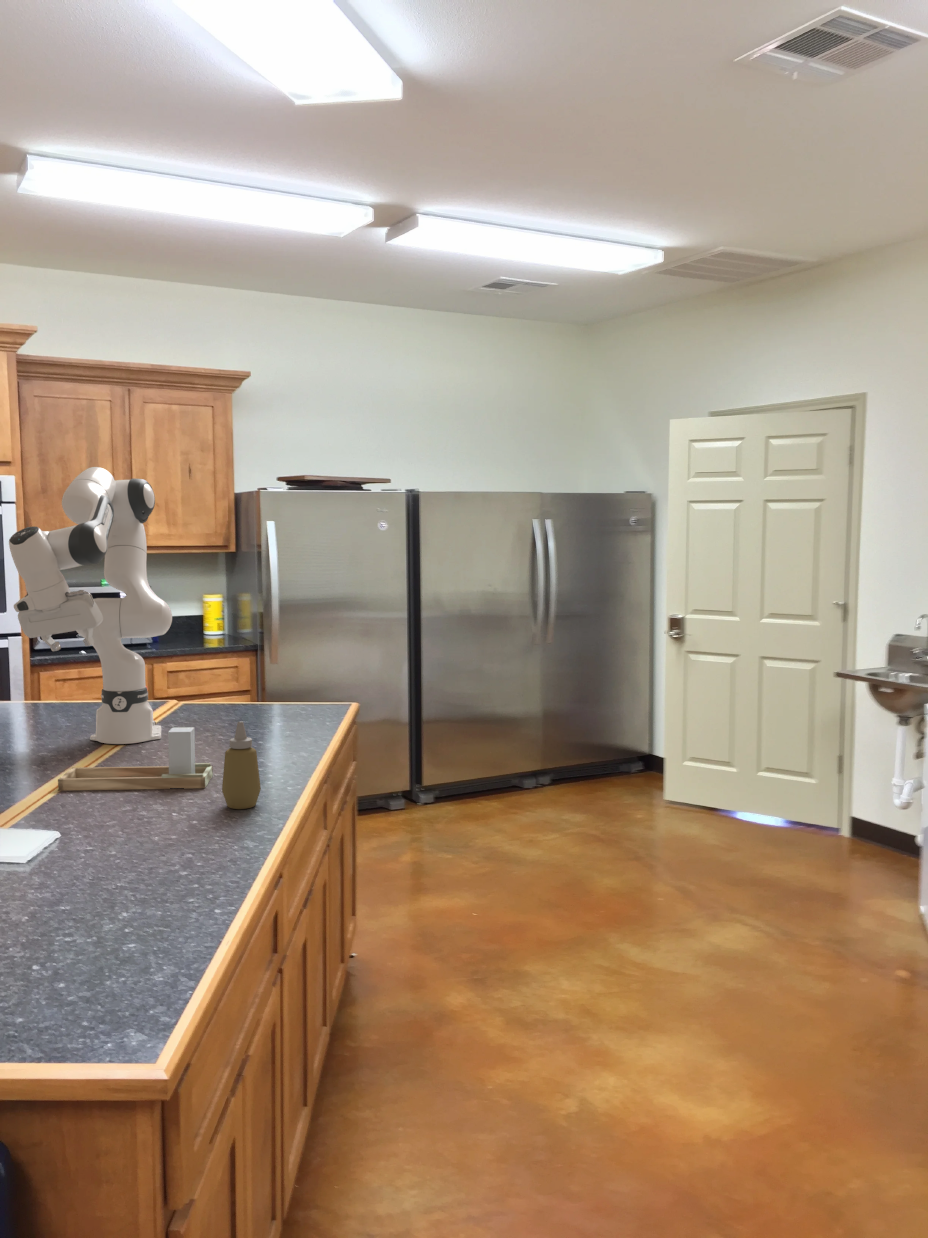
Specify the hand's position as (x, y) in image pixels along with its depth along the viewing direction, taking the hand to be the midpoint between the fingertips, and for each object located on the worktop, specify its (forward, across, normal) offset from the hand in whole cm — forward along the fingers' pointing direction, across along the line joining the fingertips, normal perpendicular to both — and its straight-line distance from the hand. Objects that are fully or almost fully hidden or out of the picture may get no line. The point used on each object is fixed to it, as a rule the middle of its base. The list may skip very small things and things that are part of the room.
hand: (73, 647), depth 239 cm
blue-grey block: (+30, -26, +16) cm, 43 cm away
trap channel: (+28, -17, +19) cm, 38 cm away
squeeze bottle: (+30, -48, +31) cm, 64 cm away
